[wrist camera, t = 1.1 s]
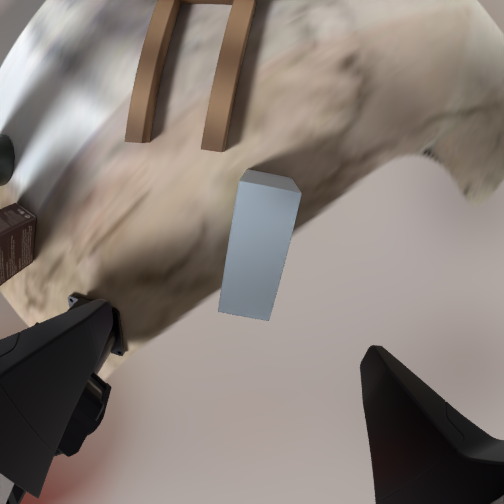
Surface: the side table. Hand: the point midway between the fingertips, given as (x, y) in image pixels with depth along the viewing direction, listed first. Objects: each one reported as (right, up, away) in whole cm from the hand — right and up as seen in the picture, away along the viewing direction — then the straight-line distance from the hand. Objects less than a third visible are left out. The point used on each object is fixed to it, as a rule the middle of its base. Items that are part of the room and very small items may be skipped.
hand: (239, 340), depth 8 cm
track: (-4, +16, +8) cm, 18 cm away
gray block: (+1, +5, +12) cm, 13 cm away
